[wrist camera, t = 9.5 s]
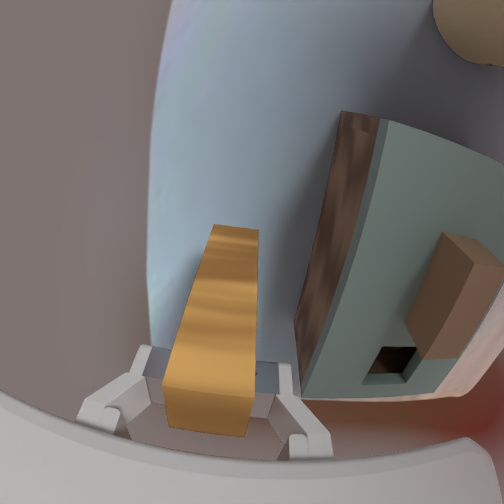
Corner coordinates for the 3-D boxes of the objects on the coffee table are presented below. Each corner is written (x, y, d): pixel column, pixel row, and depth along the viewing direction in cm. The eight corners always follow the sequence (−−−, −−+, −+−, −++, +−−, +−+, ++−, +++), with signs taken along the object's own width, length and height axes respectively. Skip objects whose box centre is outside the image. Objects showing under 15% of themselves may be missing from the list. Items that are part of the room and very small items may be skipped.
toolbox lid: (379, 117, 13) (424, 128, 9) (529, 178, 14) (574, 204, 9) (300, 385, 23) (304, 435, 18) (429, 383, 23) (445, 421, 19)
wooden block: (214, 224, 20) (161, 384, 9) (258, 229, 20) (254, 398, 9) (211, 263, 22) (169, 426, 10) (252, 268, 22) (244, 437, 10)
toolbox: (341, 110, 20) (379, 117, 13) (471, 152, 21) (529, 178, 14) (293, 322, 30) (300, 385, 23) (404, 328, 30) (429, 382, 23)
